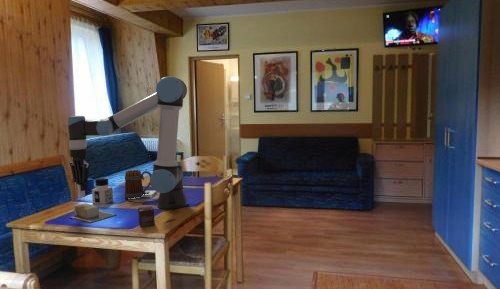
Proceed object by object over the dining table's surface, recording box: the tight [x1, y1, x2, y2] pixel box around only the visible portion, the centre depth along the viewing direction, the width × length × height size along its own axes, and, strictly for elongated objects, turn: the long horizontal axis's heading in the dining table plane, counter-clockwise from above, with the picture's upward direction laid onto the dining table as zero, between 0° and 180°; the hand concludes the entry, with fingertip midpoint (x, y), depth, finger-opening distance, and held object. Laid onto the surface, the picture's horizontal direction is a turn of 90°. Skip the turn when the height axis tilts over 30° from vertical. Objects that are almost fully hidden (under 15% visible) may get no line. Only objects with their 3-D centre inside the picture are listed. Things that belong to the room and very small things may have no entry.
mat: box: [68, 210, 117, 224], centre depth 181 cm, size 16×14×1 cm
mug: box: [124, 169, 152, 200], centre depth 217 cm, size 16×11×15 cm
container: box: [91, 177, 114, 205], centre depth 208 cm, size 8×8×13 cm
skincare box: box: [73, 202, 100, 218], centre depth 182 cm, size 6×4×12 cm
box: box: [137, 205, 156, 228], centre depth 167 cm, size 6×6×7 cm
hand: (81, 197), depth 185 cm, fingers closed
